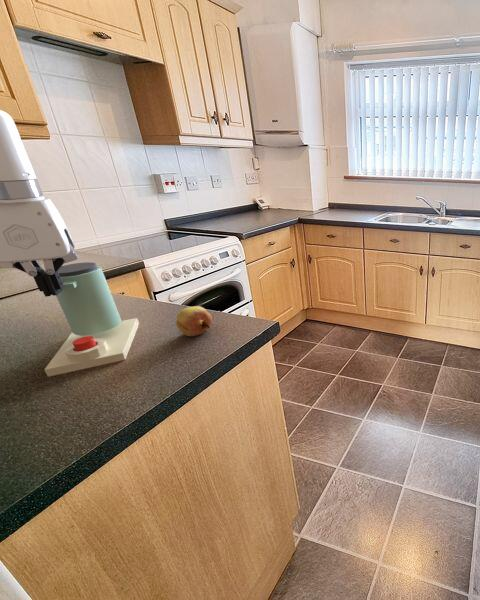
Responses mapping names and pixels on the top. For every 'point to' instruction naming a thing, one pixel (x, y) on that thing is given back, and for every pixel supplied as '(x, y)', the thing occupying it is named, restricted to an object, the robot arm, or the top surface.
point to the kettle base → (94, 349)
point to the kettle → (87, 299)
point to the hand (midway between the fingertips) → (54, 293)
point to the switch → (84, 343)
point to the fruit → (193, 320)
